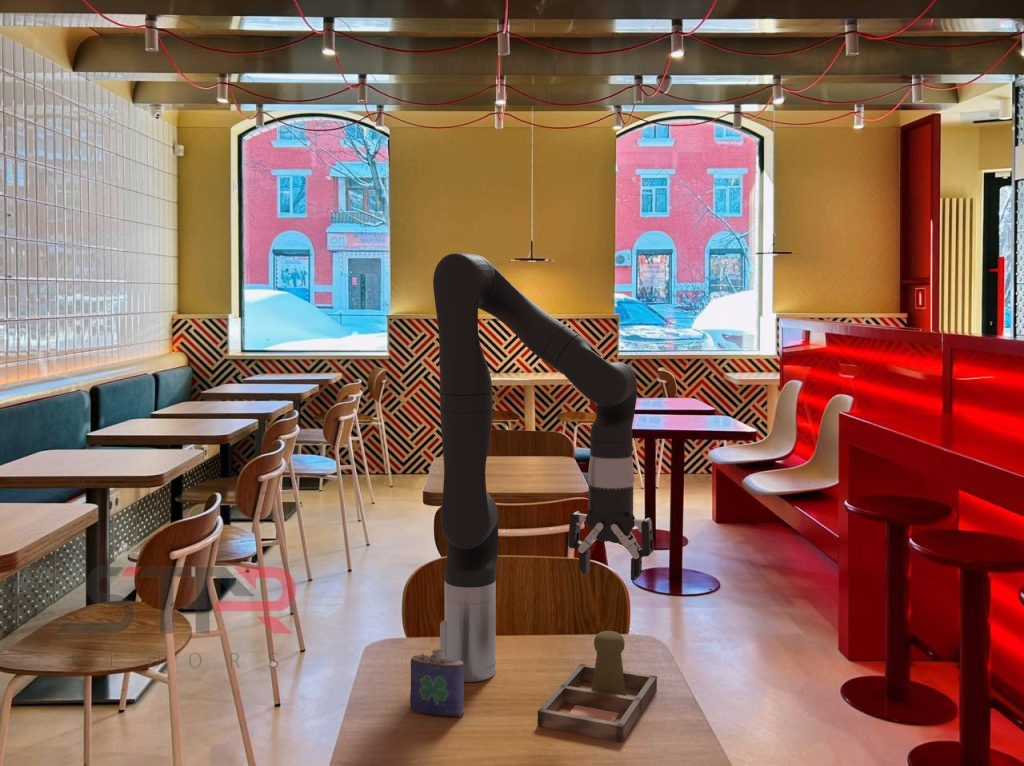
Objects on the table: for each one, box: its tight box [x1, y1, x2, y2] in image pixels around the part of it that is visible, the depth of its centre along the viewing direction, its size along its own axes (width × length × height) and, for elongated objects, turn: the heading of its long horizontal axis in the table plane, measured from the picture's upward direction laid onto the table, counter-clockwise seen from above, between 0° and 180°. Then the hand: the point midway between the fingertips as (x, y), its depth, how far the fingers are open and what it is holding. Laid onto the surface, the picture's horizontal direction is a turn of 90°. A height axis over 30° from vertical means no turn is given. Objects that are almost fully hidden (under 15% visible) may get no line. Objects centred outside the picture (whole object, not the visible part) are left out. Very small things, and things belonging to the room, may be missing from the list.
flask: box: [409, 648, 465, 719], centre depth 157 cm, size 9×3×11 cm, turn 74°
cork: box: [591, 630, 627, 696], centre depth 164 cm, size 6×6×11 cm
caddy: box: [537, 663, 658, 743], centre depth 160 cm, size 14×21×2 cm, turn 157°
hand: (610, 576), depth 162 cm, fingers open, 8 cm apart
